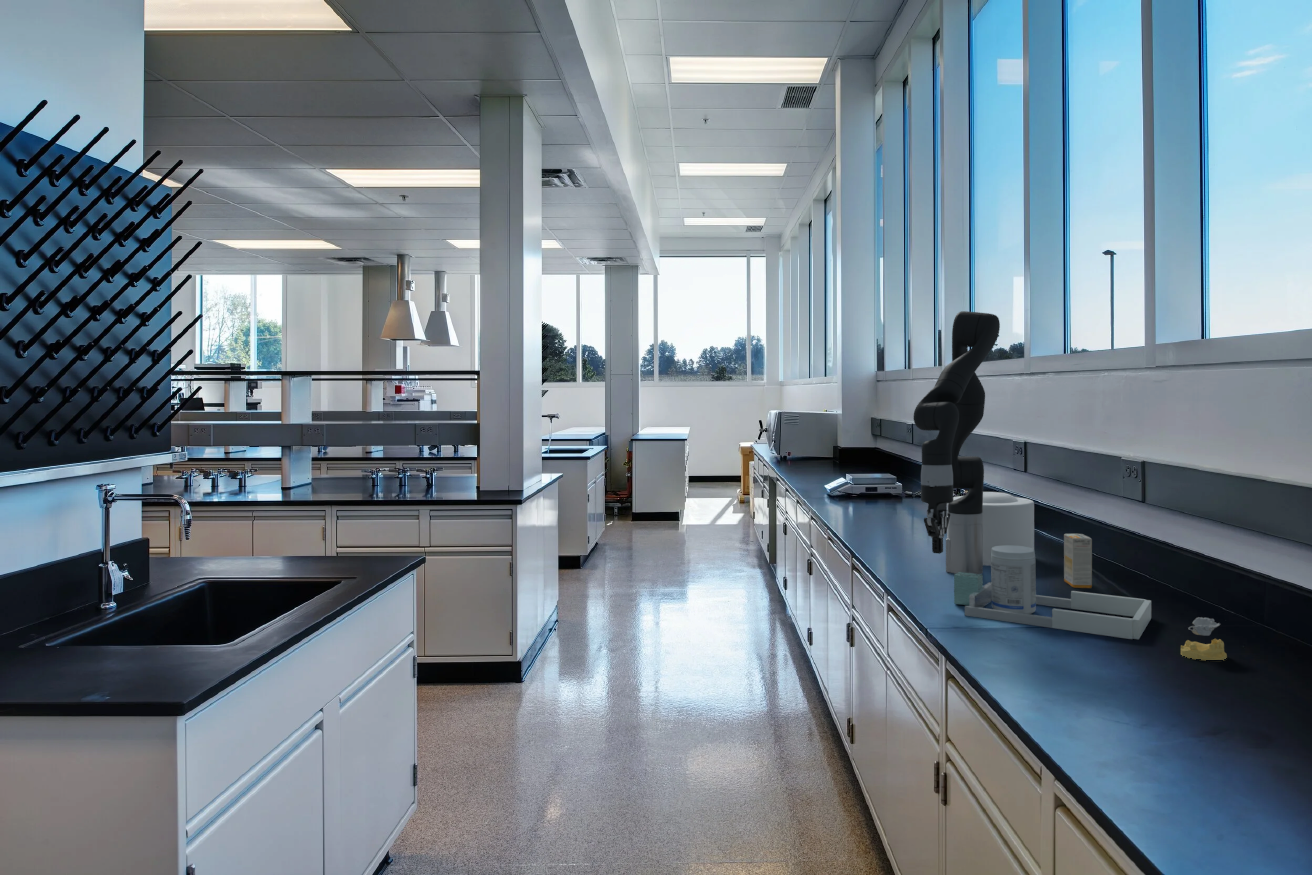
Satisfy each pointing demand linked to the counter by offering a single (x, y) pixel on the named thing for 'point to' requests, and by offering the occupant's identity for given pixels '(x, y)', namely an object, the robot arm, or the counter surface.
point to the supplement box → (1078, 560)
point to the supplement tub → (1013, 579)
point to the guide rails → (1021, 617)
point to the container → (1005, 522)
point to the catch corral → (1104, 623)
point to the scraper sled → (971, 590)
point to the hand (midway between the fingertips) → (937, 552)
